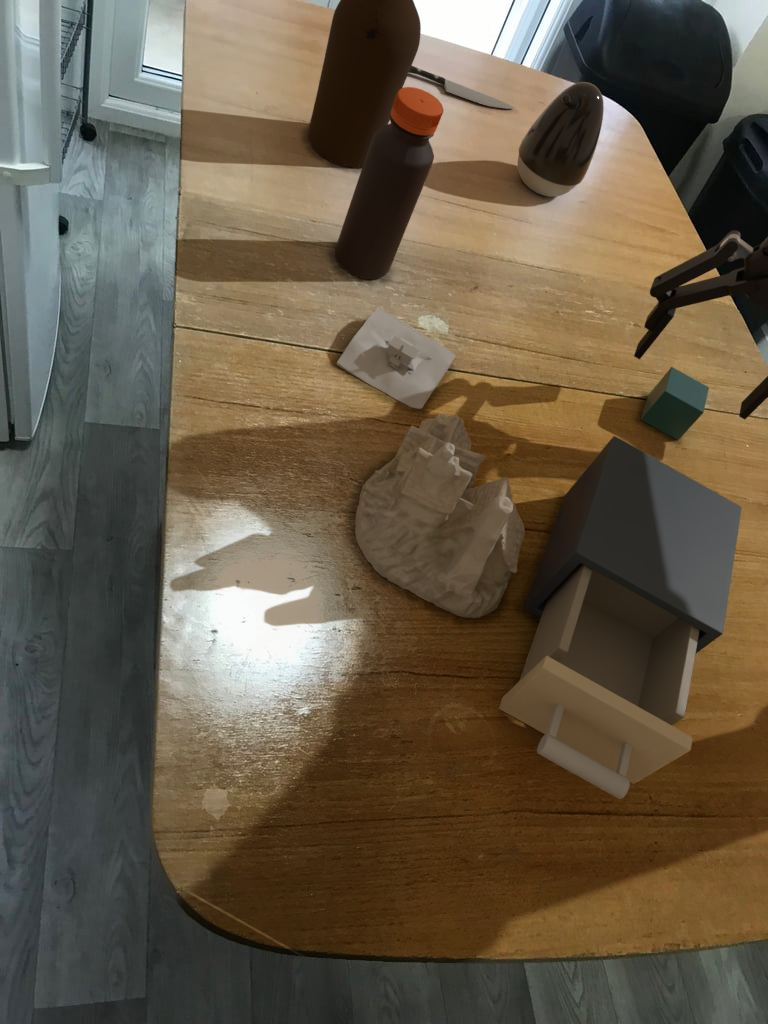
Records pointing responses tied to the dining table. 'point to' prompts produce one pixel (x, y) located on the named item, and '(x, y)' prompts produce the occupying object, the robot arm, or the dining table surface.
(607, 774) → the drawer
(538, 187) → the two-tone egg figure
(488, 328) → the dining table surface
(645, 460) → the cabinet
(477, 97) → the chef's knife
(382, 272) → the bottle
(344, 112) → the olive oil
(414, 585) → the castle ruin model
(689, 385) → the block
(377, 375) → the grey tile
